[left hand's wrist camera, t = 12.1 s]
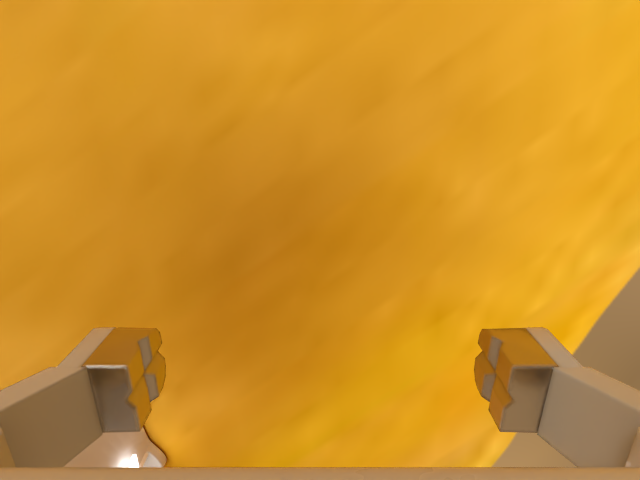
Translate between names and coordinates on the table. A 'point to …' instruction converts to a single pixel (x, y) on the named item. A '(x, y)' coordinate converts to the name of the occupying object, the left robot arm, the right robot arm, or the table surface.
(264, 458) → the table surface
